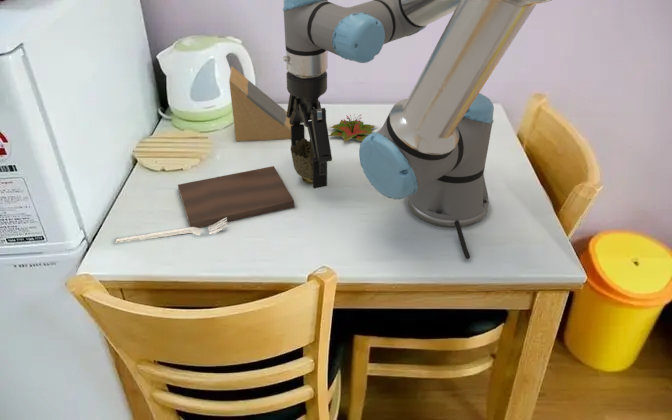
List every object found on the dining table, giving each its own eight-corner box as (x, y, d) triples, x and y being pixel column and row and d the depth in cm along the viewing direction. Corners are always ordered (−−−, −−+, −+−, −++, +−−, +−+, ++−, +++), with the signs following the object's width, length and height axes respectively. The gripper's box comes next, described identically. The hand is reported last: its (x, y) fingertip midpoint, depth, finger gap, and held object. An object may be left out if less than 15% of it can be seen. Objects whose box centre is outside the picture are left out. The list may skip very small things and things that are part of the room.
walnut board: (294, 207, 115) (294, 200, 115) (190, 229, 110) (189, 223, 109) (274, 171, 126) (273, 165, 125) (178, 190, 120) (177, 184, 119)
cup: (316, 194, 119) (315, 159, 114) (285, 184, 122) (283, 150, 117) (334, 176, 124) (334, 143, 120) (304, 167, 127) (303, 134, 123)
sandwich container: (302, 138, 138) (300, 77, 129) (235, 141, 137) (228, 80, 128) (300, 121, 145) (298, 62, 136) (237, 124, 144) (230, 65, 135)
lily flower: (337, 118, 146) (337, 101, 144) (384, 126, 143) (385, 108, 140) (319, 140, 137) (319, 122, 135) (369, 149, 134) (369, 131, 131)
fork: (116, 238, 108) (114, 230, 107) (227, 223, 112) (226, 215, 111) (115, 249, 106) (113, 241, 105) (229, 234, 109) (228, 225, 108)
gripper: (268, 49, 118) (273, 143, 130) (309, 102, 99) (311, 206, 111) (304, 45, 120) (306, 137, 132) (351, 95, 101) (348, 198, 114)
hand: (308, 169), depth 122 cm, fingers open, 13 cm apart
